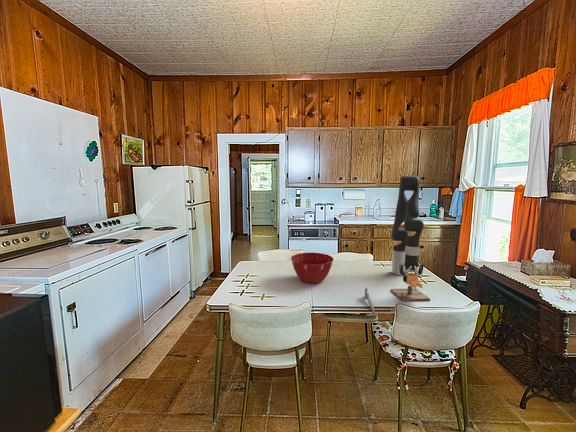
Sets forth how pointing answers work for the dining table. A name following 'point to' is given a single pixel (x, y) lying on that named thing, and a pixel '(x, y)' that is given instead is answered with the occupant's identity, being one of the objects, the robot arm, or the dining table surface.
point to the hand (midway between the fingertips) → (410, 281)
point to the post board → (410, 294)
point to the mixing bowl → (312, 266)
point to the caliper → (369, 299)
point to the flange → (413, 280)
